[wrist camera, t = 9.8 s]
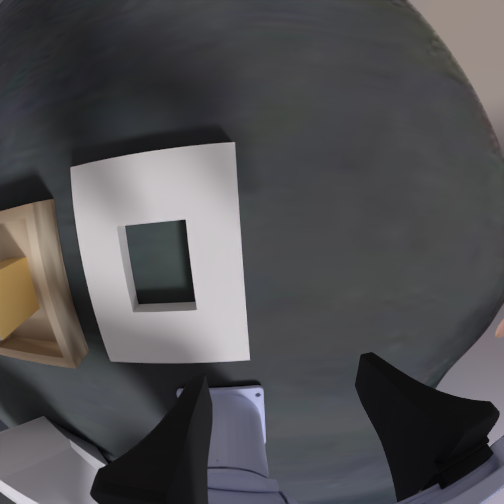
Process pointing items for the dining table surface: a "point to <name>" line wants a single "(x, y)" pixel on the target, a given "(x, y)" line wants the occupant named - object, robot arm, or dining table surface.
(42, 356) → the parts tray
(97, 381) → the dining table surface
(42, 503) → the white irregular angular block
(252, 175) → the dining table surface
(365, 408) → the robot arm
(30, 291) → the block
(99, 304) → the socket block
